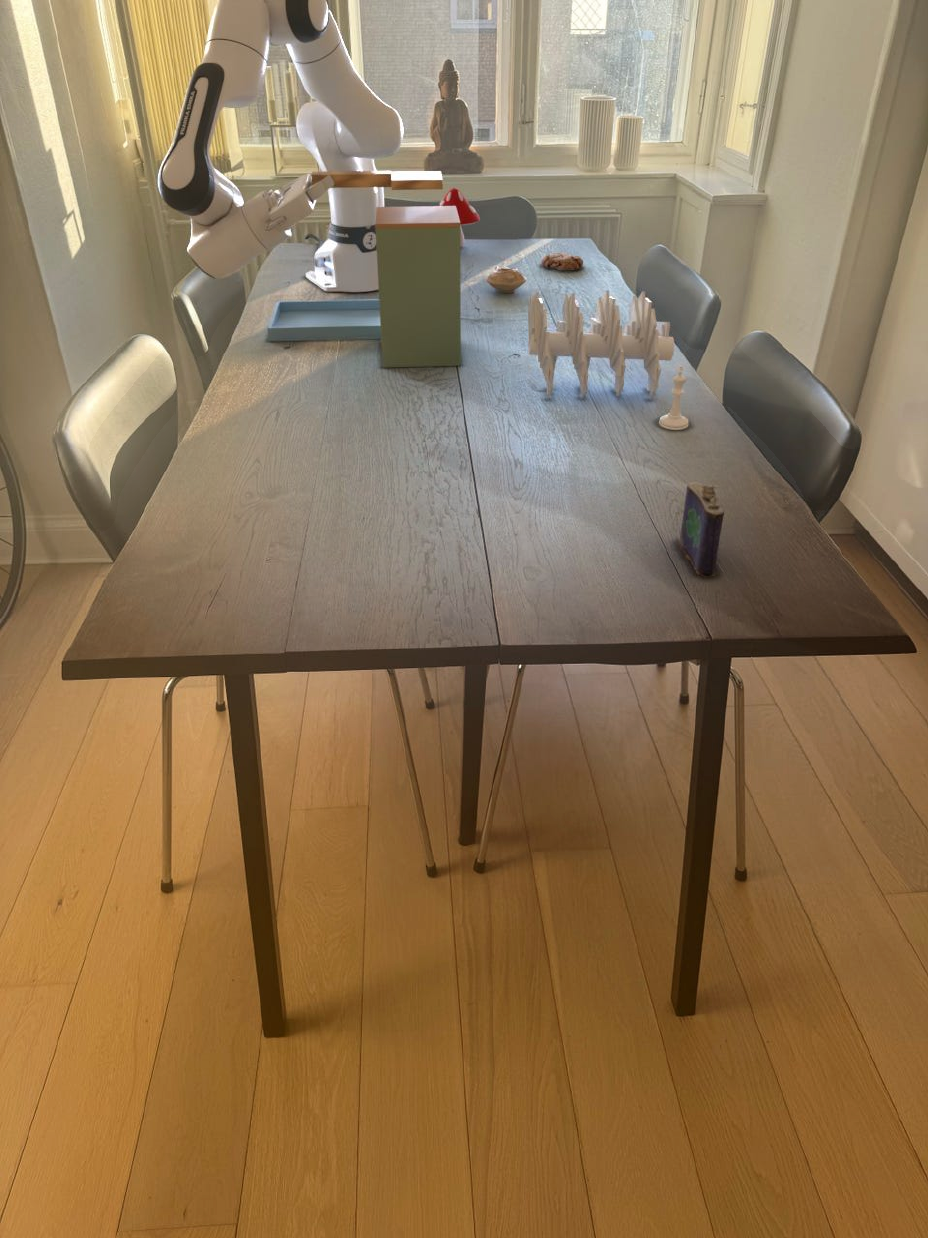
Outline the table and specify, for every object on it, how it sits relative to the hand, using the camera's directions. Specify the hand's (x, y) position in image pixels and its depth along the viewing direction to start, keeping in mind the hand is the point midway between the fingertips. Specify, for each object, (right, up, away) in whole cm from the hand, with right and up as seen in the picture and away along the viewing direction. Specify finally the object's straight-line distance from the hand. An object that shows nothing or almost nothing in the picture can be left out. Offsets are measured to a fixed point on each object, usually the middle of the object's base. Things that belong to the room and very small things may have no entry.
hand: (333, 176), depth 168 cm
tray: (-2, -16, +34) cm, 38 cm away
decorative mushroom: (+20, +22, +89) cm, 94 cm away
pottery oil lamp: (+33, 0, +57) cm, 66 cm away
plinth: (+15, -26, +19) cm, 36 cm away
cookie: (+48, +11, +73) cm, 88 cm away
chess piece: (+58, -46, -9) cm, 75 cm away
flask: (+54, -71, -45) cm, 99 cm away
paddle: (+8, -1, +1) cm, 8 cm away
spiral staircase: (+47, -38, +3) cm, 61 cm away
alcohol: (-2, +18, +83) cm, 85 cm away
